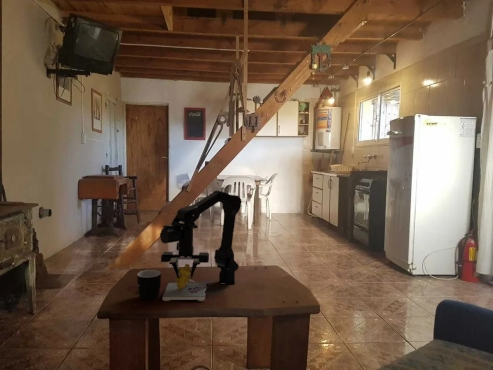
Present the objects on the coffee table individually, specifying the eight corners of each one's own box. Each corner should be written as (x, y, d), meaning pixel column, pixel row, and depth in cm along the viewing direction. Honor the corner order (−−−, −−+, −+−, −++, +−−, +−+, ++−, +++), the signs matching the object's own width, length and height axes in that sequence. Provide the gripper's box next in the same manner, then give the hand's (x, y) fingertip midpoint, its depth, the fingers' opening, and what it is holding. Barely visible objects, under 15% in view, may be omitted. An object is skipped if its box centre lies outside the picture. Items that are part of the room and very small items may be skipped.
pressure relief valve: (170, 286, 144) (179, 262, 145) (185, 285, 155) (192, 262, 156) (182, 291, 142) (190, 266, 143) (196, 289, 153) (203, 266, 154)
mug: (140, 294, 146) (139, 269, 145) (162, 294, 147) (162, 269, 146) (133, 306, 134) (132, 280, 133) (157, 306, 135) (157, 279, 134)
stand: (206, 287, 155) (206, 282, 154) (204, 302, 140) (204, 296, 139) (168, 288, 154) (168, 282, 153) (162, 302, 139) (162, 296, 138)
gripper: (210, 236, 153) (209, 272, 155) (165, 235, 152) (165, 271, 153) (208, 242, 142) (207, 280, 143) (160, 241, 141) (160, 280, 142)
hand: (185, 278), depth 146 cm, fingers closed on pressure relief valve, 5 cm apart
